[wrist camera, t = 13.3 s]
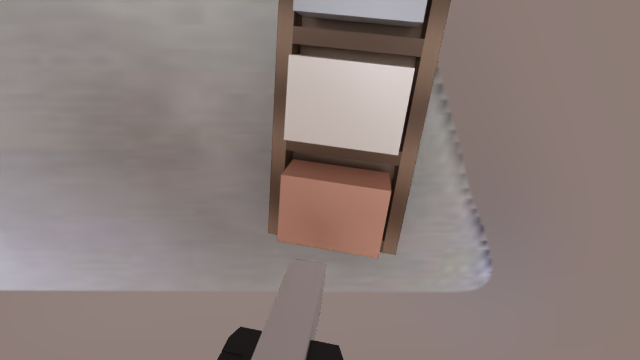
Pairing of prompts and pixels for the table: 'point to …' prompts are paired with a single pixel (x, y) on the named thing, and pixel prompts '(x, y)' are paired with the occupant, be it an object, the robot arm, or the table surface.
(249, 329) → the robot arm
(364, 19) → the slate key
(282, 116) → the wooden compartment tray
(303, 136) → the cream key
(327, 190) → the terracotta key
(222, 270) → the table surface
